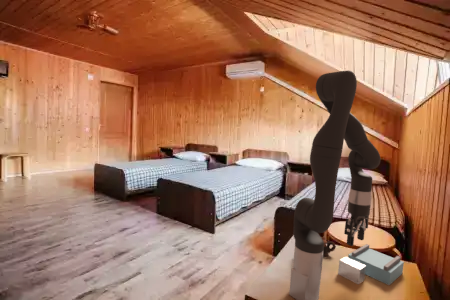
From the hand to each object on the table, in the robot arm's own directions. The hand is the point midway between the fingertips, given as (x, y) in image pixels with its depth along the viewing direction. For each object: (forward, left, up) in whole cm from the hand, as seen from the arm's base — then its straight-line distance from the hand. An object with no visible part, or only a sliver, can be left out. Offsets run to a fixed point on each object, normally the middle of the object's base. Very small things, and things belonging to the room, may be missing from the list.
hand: (355, 242), depth 100 cm
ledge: (+14, -3, -14) cm, 20 cm away
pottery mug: (+8, +18, -15) cm, 24 cm away
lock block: (0, 0, -14) cm, 14 cm away
